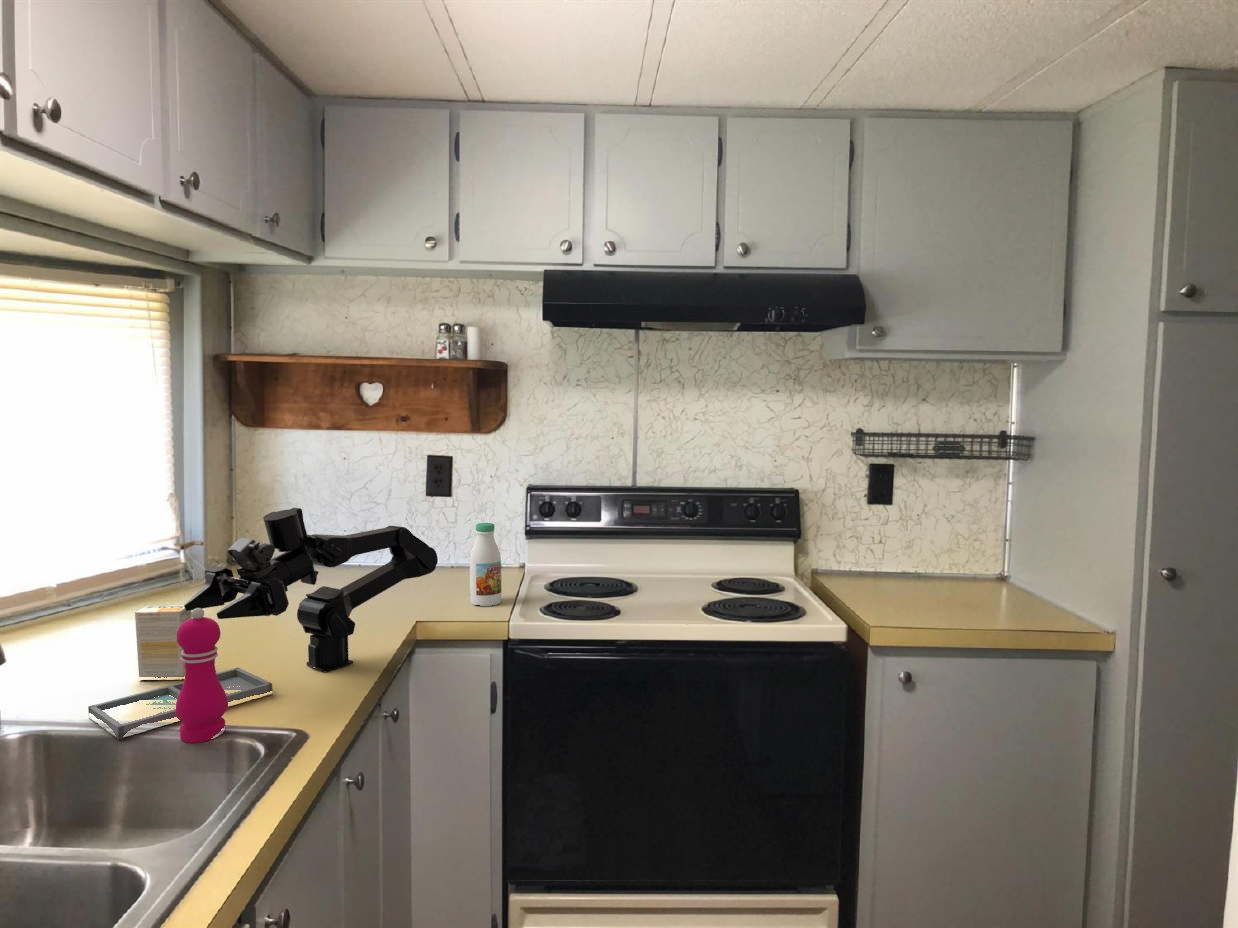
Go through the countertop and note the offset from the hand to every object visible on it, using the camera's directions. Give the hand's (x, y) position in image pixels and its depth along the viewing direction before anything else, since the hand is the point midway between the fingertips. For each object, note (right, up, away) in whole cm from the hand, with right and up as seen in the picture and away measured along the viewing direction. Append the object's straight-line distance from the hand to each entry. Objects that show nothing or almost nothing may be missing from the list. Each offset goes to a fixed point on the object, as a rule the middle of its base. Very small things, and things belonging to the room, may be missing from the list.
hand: (201, 612), depth 136 cm
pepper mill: (+5, -18, -9) cm, 20 cm away
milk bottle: (+36, -10, +69) cm, 79 cm away
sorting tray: (-4, -16, +2) cm, 17 cm away
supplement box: (-15, -15, +16) cm, 27 cm away
